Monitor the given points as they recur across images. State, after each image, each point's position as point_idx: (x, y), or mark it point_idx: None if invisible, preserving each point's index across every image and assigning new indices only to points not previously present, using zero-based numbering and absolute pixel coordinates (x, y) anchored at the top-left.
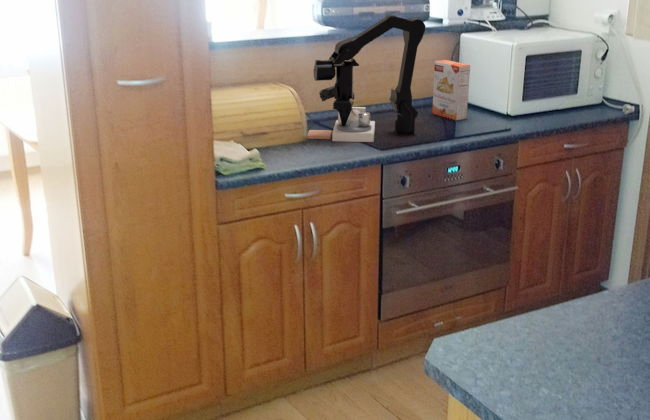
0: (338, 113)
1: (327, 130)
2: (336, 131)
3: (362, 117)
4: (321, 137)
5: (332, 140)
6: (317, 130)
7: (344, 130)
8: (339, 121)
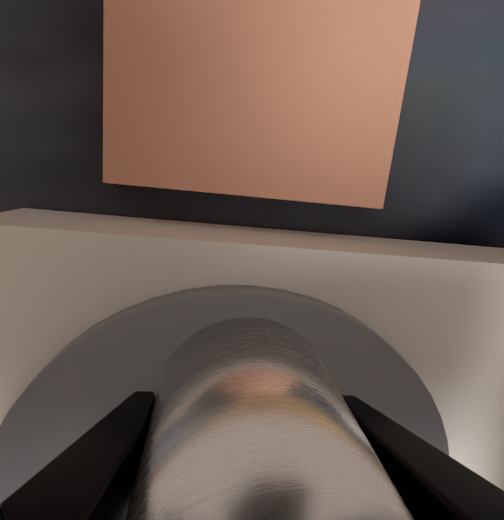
0: (239, 496)
1: (384, 153)
2: (30, 283)
3: None
4: (110, 67)
5: (20, 210)
6: (397, 14)
7: (14, 403)
8: (182, 383)
